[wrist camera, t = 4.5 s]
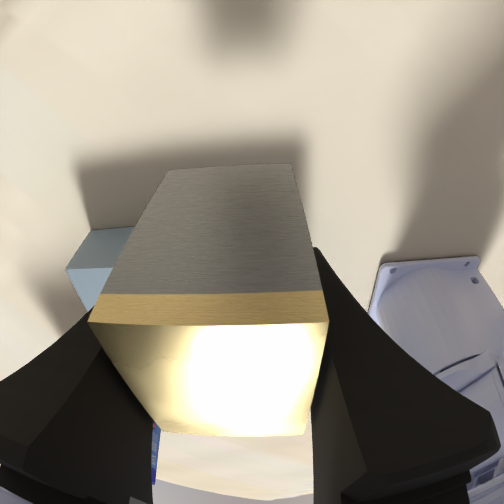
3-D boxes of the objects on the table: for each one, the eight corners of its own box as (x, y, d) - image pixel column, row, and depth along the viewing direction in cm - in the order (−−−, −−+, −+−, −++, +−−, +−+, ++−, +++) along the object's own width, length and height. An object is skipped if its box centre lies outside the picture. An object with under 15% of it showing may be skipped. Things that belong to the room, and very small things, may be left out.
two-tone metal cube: (290, 163, 10) (329, 321, 5) (288, 280, 13) (303, 434, 8) (168, 170, 10) (87, 321, 5) (191, 283, 13) (162, 431, 8)
